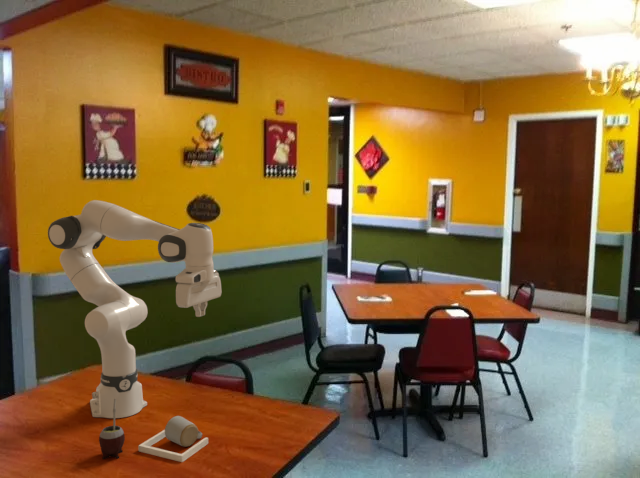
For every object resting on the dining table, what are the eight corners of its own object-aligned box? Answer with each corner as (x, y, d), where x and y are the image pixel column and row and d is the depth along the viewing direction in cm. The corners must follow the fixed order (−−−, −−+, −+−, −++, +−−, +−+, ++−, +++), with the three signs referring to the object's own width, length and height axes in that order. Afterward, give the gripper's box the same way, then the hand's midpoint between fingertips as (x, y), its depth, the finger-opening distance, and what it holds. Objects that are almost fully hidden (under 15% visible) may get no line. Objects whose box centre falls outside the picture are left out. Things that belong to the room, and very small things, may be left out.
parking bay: (138, 451, 174) (138, 445, 173) (166, 433, 185) (166, 428, 185) (182, 462, 167) (182, 456, 167) (208, 443, 179) (208, 437, 179)
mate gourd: (107, 463, 166) (106, 413, 165) (93, 454, 171) (92, 405, 170) (131, 454, 172) (129, 405, 170) (116, 446, 177) (115, 398, 175)
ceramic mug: (181, 451, 174) (181, 426, 173) (164, 443, 179) (164, 419, 178) (208, 439, 182) (208, 416, 181) (191, 432, 187) (191, 409, 186)
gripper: (210, 268, 197) (210, 308, 198) (171, 277, 178) (172, 321, 180) (225, 269, 194) (226, 310, 196) (188, 279, 176) (189, 323, 177)
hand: (200, 315), depth 188 cm, fingers closed
